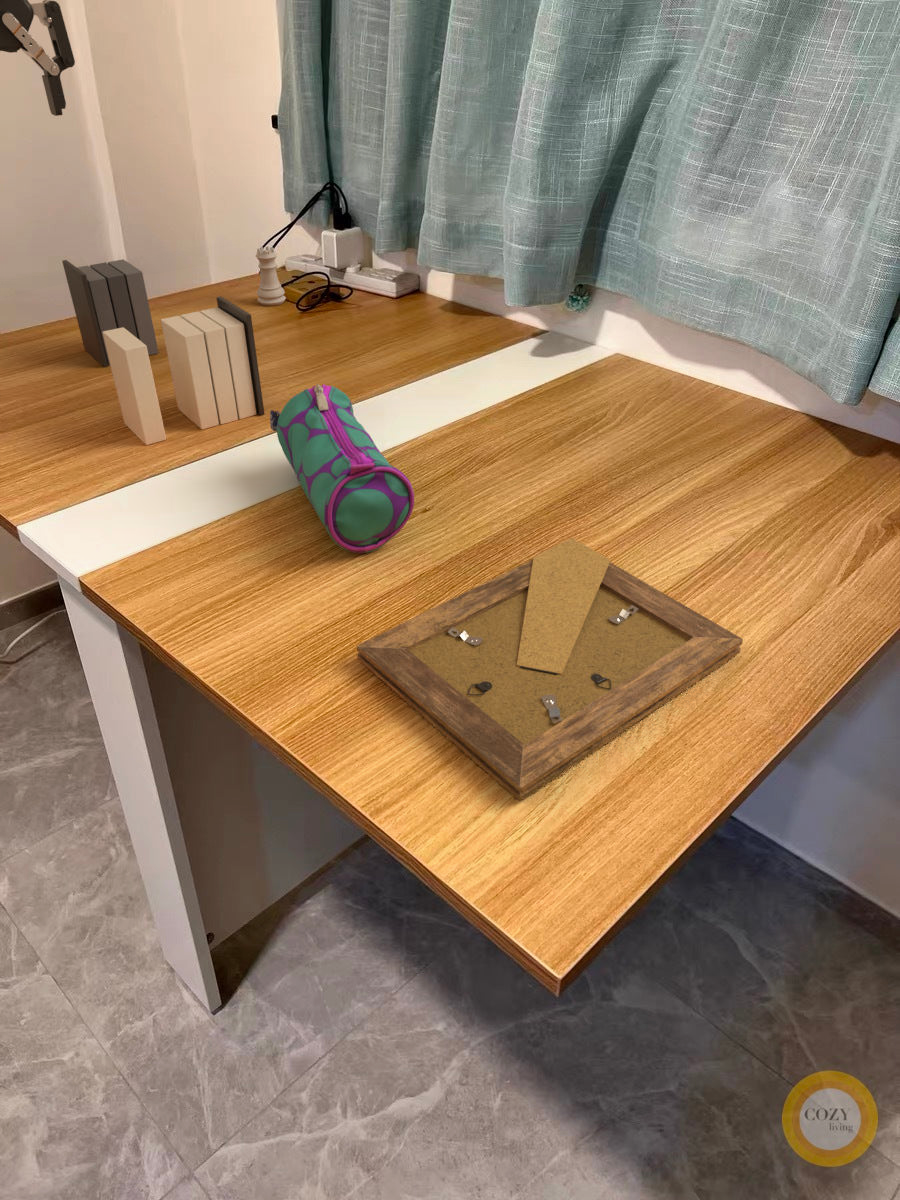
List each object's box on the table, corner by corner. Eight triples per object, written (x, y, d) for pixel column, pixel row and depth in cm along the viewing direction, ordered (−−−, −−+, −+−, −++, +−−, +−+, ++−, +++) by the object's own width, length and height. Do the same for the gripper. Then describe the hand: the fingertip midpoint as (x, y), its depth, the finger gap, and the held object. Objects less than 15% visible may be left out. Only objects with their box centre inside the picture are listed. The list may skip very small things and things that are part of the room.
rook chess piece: (252, 305, 138) (245, 252, 133) (264, 296, 141) (257, 244, 137) (279, 307, 137) (273, 253, 132) (290, 298, 140) (284, 245, 136)
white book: (146, 445, 99) (124, 350, 93) (124, 423, 104) (102, 331, 97) (166, 439, 100) (146, 345, 94) (144, 418, 105) (123, 326, 98)
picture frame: (570, 553, 81) (357, 660, 69) (571, 537, 80) (355, 643, 68) (739, 654, 70) (520, 803, 58) (744, 636, 69) (521, 785, 57)
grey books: (103, 367, 118) (81, 275, 111) (84, 349, 123) (61, 260, 116) (160, 354, 121) (142, 264, 114) (139, 337, 127) (120, 250, 119)
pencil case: (275, 467, 95) (263, 382, 89) (354, 452, 98) (348, 369, 92) (329, 569, 80) (319, 474, 74) (421, 548, 82) (419, 455, 76)
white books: (203, 431, 102) (184, 329, 95) (176, 408, 107) (156, 309, 100) (264, 414, 106) (251, 314, 99) (235, 392, 111) (220, 296, 104)
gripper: (32, -69, 92) (72, 108, 101) (-121, -70, 85) (-63, 120, 95) (53, -70, 87) (93, 117, 96) (-107, -71, 80) (-47, 130, 90)
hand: (16, 118), depth 95 cm, fingers open, 8 cm apart
